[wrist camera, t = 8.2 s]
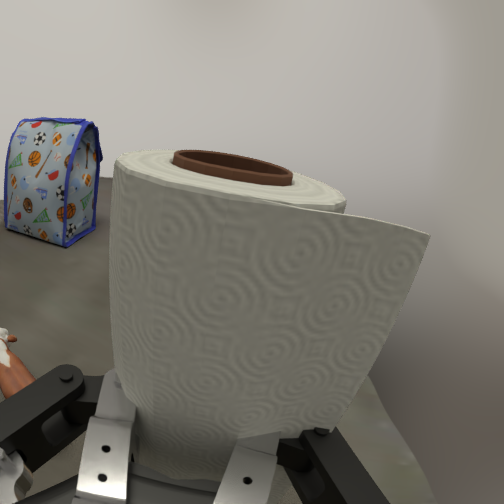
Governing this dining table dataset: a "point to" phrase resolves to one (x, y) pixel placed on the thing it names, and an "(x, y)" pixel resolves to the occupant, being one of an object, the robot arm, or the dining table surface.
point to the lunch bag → (52, 179)
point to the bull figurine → (11, 367)
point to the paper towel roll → (243, 303)
